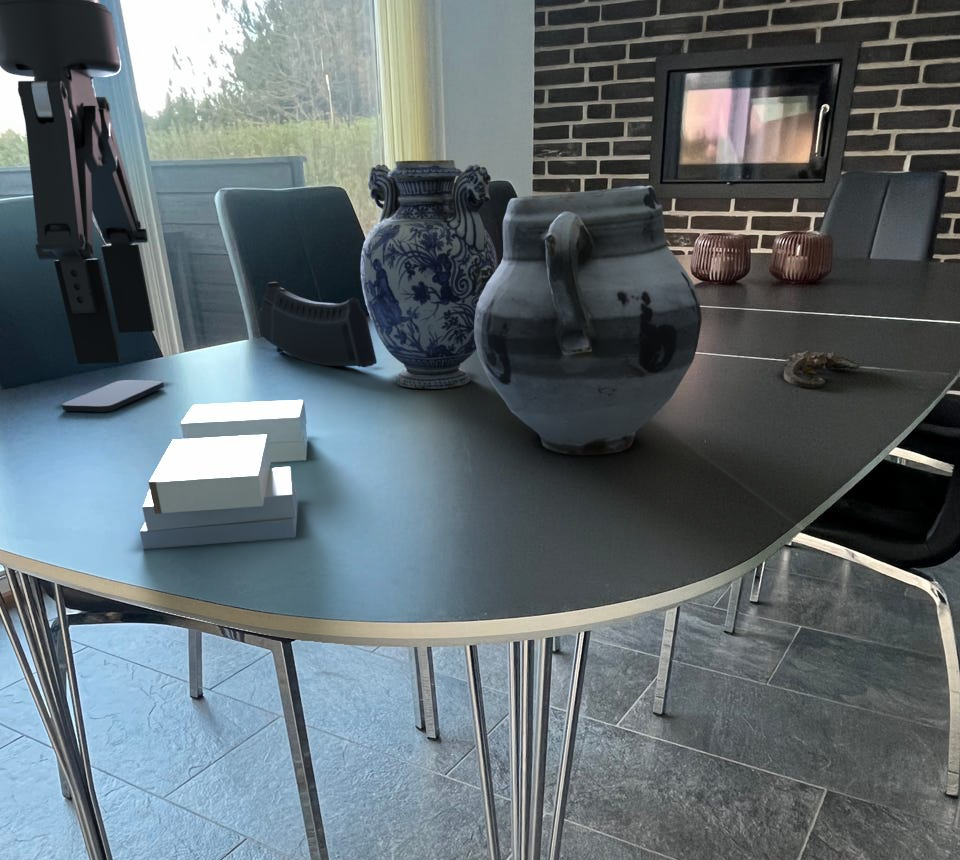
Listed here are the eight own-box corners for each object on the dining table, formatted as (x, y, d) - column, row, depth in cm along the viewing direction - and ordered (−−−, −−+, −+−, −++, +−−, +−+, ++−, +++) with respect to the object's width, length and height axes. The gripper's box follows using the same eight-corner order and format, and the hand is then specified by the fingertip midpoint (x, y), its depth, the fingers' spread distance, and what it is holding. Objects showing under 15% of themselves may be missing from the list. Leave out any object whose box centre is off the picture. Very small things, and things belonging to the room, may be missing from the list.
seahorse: (754, 379, 121) (757, 357, 120) (814, 362, 131) (817, 341, 129) (814, 390, 115) (818, 366, 114) (872, 371, 125) (877, 349, 123)
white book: (154, 514, 66) (148, 482, 65) (177, 468, 76) (172, 439, 75) (263, 506, 67) (258, 475, 66) (271, 462, 77) (267, 434, 76)
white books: (188, 472, 88) (179, 424, 86) (198, 450, 96) (190, 405, 93) (308, 465, 90) (302, 416, 88) (309, 443, 97) (303, 398, 95)
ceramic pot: (676, 497, 79) (704, 188, 67) (439, 480, 85) (426, 193, 73) (698, 419, 103) (721, 182, 91) (512, 410, 109) (512, 186, 97)
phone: (57, 405, 113) (119, 379, 125) (58, 411, 113) (121, 385, 126) (108, 406, 111) (166, 380, 124) (110, 413, 112) (167, 386, 125)
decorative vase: (531, 379, 125) (534, 157, 111) (446, 404, 112) (437, 158, 99) (423, 363, 137) (413, 161, 124) (335, 384, 124) (314, 162, 111)
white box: (144, 555, 69) (133, 507, 67) (161, 519, 77) (152, 475, 75) (298, 543, 71) (292, 496, 69) (300, 509, 78) (295, 465, 76)
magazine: (382, 311, 125) (276, 237, 140) (364, 313, 123) (258, 239, 139) (372, 418, 136) (275, 339, 152) (355, 421, 135) (258, 342, 150)
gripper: (57, -41, 45) (141, 375, 55) (143, 29, 67) (192, 319, 77) (-98, -43, 44) (17, 382, 54) (41, 29, 66) (104, 323, 76)
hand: (120, 346), depth 66 cm, fingers open, 13 cm apart
